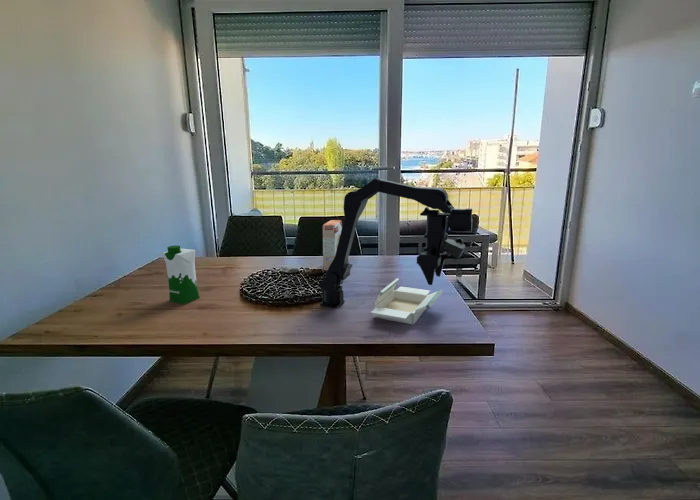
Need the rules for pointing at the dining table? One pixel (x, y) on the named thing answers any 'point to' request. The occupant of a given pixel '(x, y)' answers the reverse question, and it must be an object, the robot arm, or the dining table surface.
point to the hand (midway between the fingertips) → (434, 280)
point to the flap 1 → (386, 291)
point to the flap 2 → (428, 301)
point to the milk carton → (181, 274)
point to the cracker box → (330, 241)
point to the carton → (401, 305)
